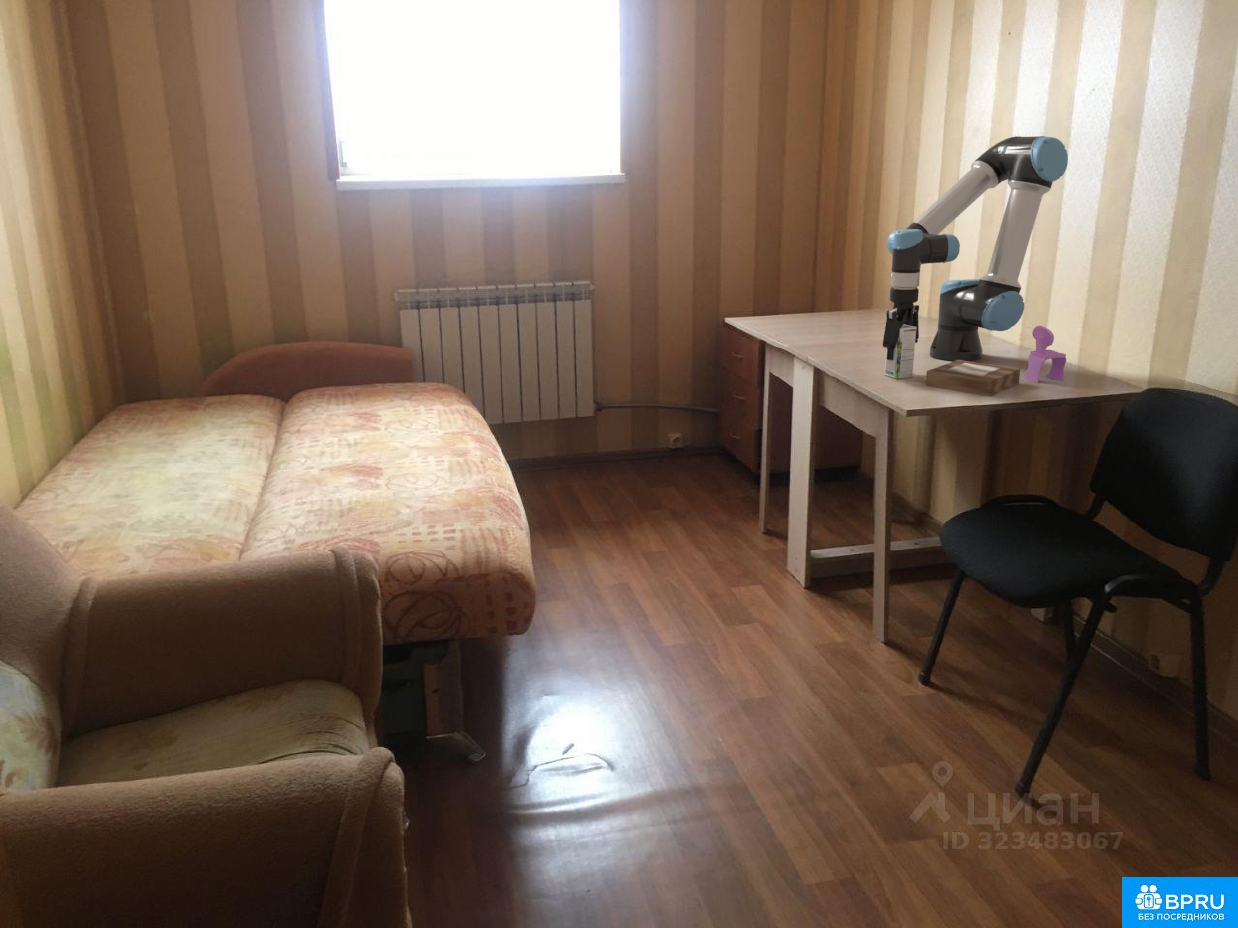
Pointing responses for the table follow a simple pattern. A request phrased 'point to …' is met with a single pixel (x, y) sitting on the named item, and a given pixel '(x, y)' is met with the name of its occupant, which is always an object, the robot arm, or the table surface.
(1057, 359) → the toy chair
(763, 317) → the table surface
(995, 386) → the walnut base
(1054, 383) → the table surface
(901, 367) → the syrup box
